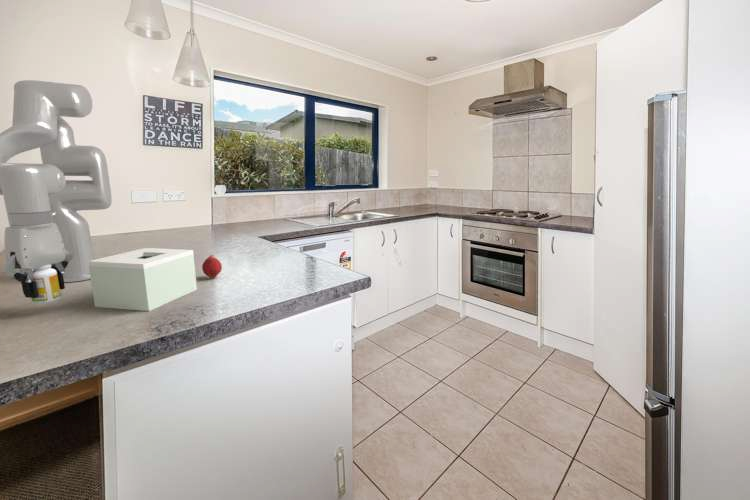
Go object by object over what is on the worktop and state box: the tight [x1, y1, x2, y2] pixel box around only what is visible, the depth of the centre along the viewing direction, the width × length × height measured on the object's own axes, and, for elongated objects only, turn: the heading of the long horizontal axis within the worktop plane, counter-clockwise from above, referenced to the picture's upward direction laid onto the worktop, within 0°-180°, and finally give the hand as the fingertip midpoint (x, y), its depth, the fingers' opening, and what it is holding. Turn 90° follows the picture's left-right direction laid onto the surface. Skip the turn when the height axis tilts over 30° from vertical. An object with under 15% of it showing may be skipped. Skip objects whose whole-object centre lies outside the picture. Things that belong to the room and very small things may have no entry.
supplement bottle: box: [31, 265, 62, 305], centre depth 87 cm, size 5×5×10 cm
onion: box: [201, 254, 223, 279], centre depth 118 cm, size 6×6×8 cm
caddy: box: [88, 247, 198, 312], centre depth 99 cm, size 16×18×12 cm
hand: (45, 292), depth 88 cm, fingers closed on supplement bottle, 5 cm apart
